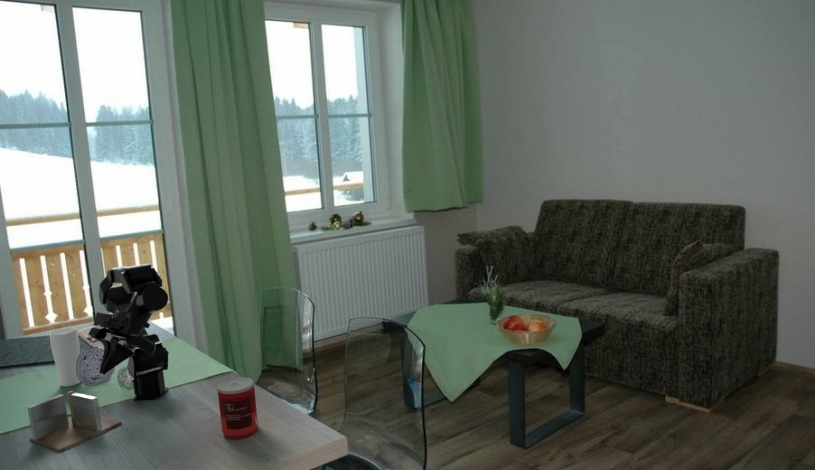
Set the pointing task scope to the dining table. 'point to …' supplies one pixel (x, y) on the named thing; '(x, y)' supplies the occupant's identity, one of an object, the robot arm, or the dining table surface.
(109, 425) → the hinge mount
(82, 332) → the newspaper
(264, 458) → the dining table surface
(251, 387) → the canned food
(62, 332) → the white tapered cylinder
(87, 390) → the dining table surface
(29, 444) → the dining table surface
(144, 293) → the robot arm
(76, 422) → the swinging leaf
